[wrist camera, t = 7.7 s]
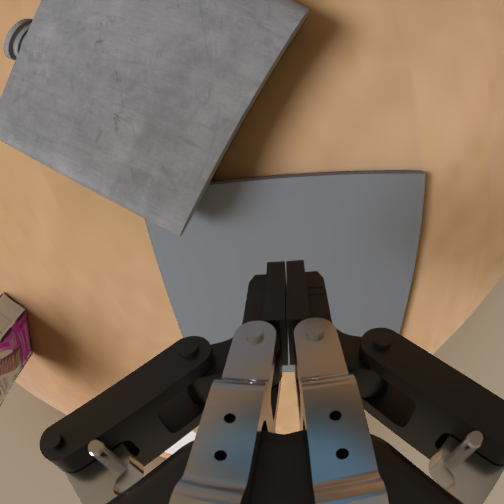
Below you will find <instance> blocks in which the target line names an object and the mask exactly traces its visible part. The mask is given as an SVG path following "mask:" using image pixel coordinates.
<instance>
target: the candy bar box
mask: <svg viewBox="0 0 504 504" xmlns="http://www.w3.org/2000/svg"><path fill="white" fill-rule="evenodd" d="M32 354H33V352H32V347H31V341H30V335H29V328H28V321H27V312H26V309H25V308H24V307H23V306H22V305H20V304H19V303H17V302H16V301H14V300H13V299H11V298H10V297H9V296H7V295H6V294H5V293H2V295H1V296H0V405H1V404H2V401H3V400H4V398H5V397H6V395H7V393H8V391H9V390H10V388H11V386H12V385H13V383H14V381H15V380H16V378H17V377H18V375H19V373H20V372H21V370H22V369H23V367H24V365H25V364H26V362H27V361H28V359H29V358H30V357H31V355H32Z"/></svg>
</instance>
